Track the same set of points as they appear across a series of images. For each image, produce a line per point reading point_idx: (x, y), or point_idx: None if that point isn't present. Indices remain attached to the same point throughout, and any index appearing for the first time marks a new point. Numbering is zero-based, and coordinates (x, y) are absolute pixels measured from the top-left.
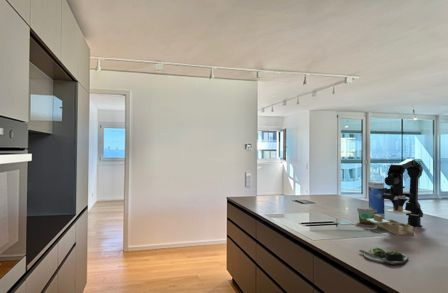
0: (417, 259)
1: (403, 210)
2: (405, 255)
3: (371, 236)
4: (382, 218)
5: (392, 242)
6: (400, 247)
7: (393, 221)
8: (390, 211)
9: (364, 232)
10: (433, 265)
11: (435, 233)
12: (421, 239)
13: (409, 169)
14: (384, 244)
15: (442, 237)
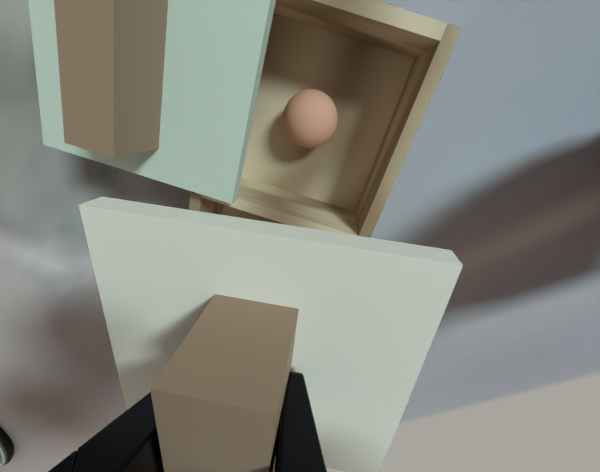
0: (46, 463)
1: (367, 396)
2: (2, 458)
3: (14, 236)
4: (134, 153)
5: (72, 350)
6: (64, 397)
7: (410, 102)
8: (110, 313)
9: (8, 136)
10: None
11: (487, 367)
12: None
13: None
14: (17, 350)
15: (412, 416)
